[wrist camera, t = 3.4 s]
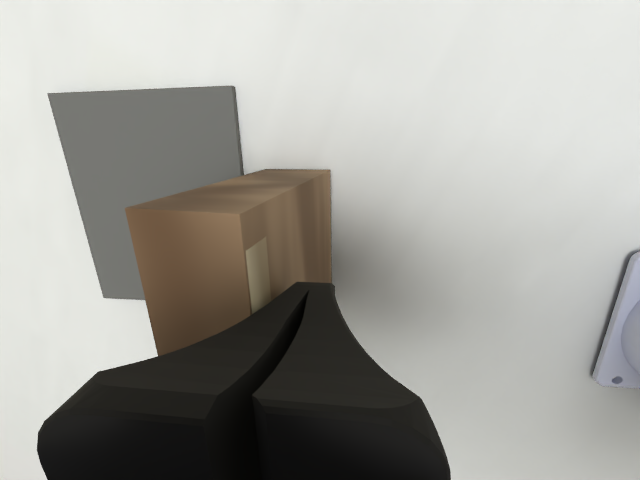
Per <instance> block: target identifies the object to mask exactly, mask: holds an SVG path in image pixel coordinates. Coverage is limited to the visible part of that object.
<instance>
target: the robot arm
mask: <svg viewBox="0 0 640 480" xmlns="http://www.w3.org/2000/svg"><path fill="white" fill-rule="evenodd" d="M614 377H615V378H614ZM593 378H594V380H595V381H596V382H597V383H598V384H599V385H602V386H611V387H625V388H639V389H640V251H639V252H637V253H635V254H634V255H633V256H631V258H630V260H629V263H628V266H627V269H626V273H625V276H624V279H623V282H622V285H621V288H620V291H619V294H618V298H617V301H616V304H615V307H614V310H613V313H612V316H611V319H610V323H609V326H608V329H607V332H606V335H605V338H604V341H603V344H602V347H601V351H600V354H599V357H598V360H597V363H596V366H595V369H594V372H593ZM37 452H38V455H39V459H40V463H41V465H42V468H43V470H44V472H45V475H46V477H47V479H48V480H451V476H450V468H449V464H448V460H447V456H446V454H445V451H444V448H443V445H442V443H441V440H440V437H439V435H438V432H437V430H436V428H435V426H434V423H433V421H432V419H431V417H430V415H429V413H428V411H427V409H426V407H425V405H424V403H423V401H422V399H421V398H420V397H419V396H417V395H416V394H415V393H413V392H412V391H410V390H409V389H407V388H406V387H405V386H403V385H402V384H400V383H399V382H398V381H396V380H395V379H393V378H392V377H391V376H390V375H389V374H387V373H386V372H385V371H384V370H383V369H382V368H381V367H380V366H379V365H378V364H377V363H376V362H375V361H374V360H373V359H372V358H371V357H370V356H369V355H368V354H367V353H366V352H365V350H364V349H363V348H362V346H361V345H360V344H359V343H358V341H357V340H356V338H355V337H354V336H353V334H352V332H351V331H350V329H349V328H348V326H347V324H346V322H345V320H344V318H343V316H342V314H341V312H340V309H339V307H338V304H337V302H336V298H335V286H334V285H333V284H332V283H319V282H296V283H294V284H293V285H292V286H290V287H289V288H288V289H286V290H285V291H284V292H283V293H281V294H280V295H279V296H277V297H276V298H275V299H273V300H272V301H271V302H269V303H268V304H267V305H265V306H264V307H262V308H261V309H259V310H258V311H256V312H255V313H253V314H252V315H250V316H249V317H247V318H246V319H244V320H242V321H241V322H239V323H237V324H235V325H233V326H232V327H230V328H228V329H226V330H224V331H222V332H220V333H218V334H216V335H213V336H211V337H209V338H206V339H204V340H202V341H199V342H197V343H195V344H192V345H190V346H187V347H184V348H182V349H179V350H176V351H173V352H170V353H167V354H164V355H161V356H158V357H154V358H151V359H148V360H144V361H140V362H136V363H132V364H128V365H124V366H120V367H116V368H112V369H108V370H104V371H99V372H97V373H96V374H95V375H94V376H93V377H92V378H91V379H90V380H89V381H88V382H87V383H85V384H84V385H83V386H82V387H81V388H80V389H79V390H78V391H77V392H76V393H75V394H74V395H72V396H71V397H70V398H69V399H68V400H67V401H66V402H65V403H64V404H63V405H62V406H61V407H59V408H58V409H57V410H56V411H55V412H54V413H53V414H52V415H51V416H50V417H49V418H48V419H46V420H45V421H44V423H43V425H42V427H41V429H40V430H39V432H38V443H37Z"/></svg>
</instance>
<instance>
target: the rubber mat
mask: <svg viewBox="0 0 640 480" xmlns="http://www.w3.org/2000/svg"><path fill="white" fill-rule="evenodd" d="M47 94H48V97H49V101H50V105H51V108H52V112H53V116H54V119H55V123H56V126H57V130H58V134H59V137H60V141H61V145H62V148H63V152H64V156H65V159H66V163H67V166H68V170H69V174H70V177H71V181H72V185H73V188H74V192H75V196H76V199H77V203H78V206H79V210H80V214H81V217H82V221H83V225H84V228H85V232H86V235H87V239H88V243H89V246H90V250H91V254H92V257H93V261H94V265H95V268H96V272H97V275H98V279H99V283H100V286H101V290H102V294H103V297H104V298H114V299H135V300H145V296H144V291H143V287H142V283H141V278H140V274H139V269H138V265H137V261H136V256H135V252H134V247H133V243H132V239H131V234H130V230H129V225H128V221H127V217H126V212H125V208H126V207H130V206H133V205H137V204H141V203H144V202H148V201H152V200H155V199H159V198H163V197H166V196H170V195H174V194H177V193H181V192H185V191H188V190H192V189H196V188H199V187H203V186H207V185H210V184H214V183H218V182H221V181H225V180H229V179H232V178H236V177H239V176H243V165H242V155H241V145H240V135H239V125H238V115H237V105H236V95H235V87H234V86H212V87H189V88H165V89H141V90H118V91H94V92H70V93H47Z"/></svg>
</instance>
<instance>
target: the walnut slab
mask: <svg viewBox="0 0 640 480" xmlns="http://www.w3.org/2000/svg"><path fill="white" fill-rule="evenodd" d="M125 212H126V217H127V221H128V225H129V230H130V234H131V239H132V243H133V247H134V252H135V256H136V261H137V265H138V269H139V274H140V278H141V283H142V287H143V291H144V296H145V300H146V305H147V309H148V314H149V318H150V322H151V327H152V331H153V336H154V340H155V344H156V349H157V353H158V356H161V355H164V354H167V353H170V352H173V351H176V350H179V349H182V348H184V347H187V346H190V345H192V344H195V343H197V342H199V341H202V340H204V339H206V338H209V337H211V336H213V335H216V334H218V333H220V332H222V331H224V330H226V329H228V328H230V327H232V326H233V325H235V324H237V323H239V322H241V321H242V320H244V319H246V318H247V317H249V316H250V315H252V314H253V313H255V312H256V311H258V310H259V309H261V308H262V307H264V306H265V305H267V304H268V303H269V302H271V301H272V300H273V299H275V298H276V297H277V296H279V295H280V294H281V293H283V292H284V291H285V290H286V289H288V288H289V287H290V286H292V285H293V284H294V283H296V282H319V283H331V198H330V170H289V169H265V170H261V171H258V172H254V173H250V174H247V175H243V176H239V177H236V178H232V179H229V180H225V181H221V182H218V183H214V184H210V185H207V186H203V187H199V188H196V189H192V190H188V191H185V192H181V193H177V194H174V195H170V196H166V197H163V198H159V199H155V200H152V201H148V202H144V203H141V204H137V205H133V206H130V207H126V208H125Z"/></svg>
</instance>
